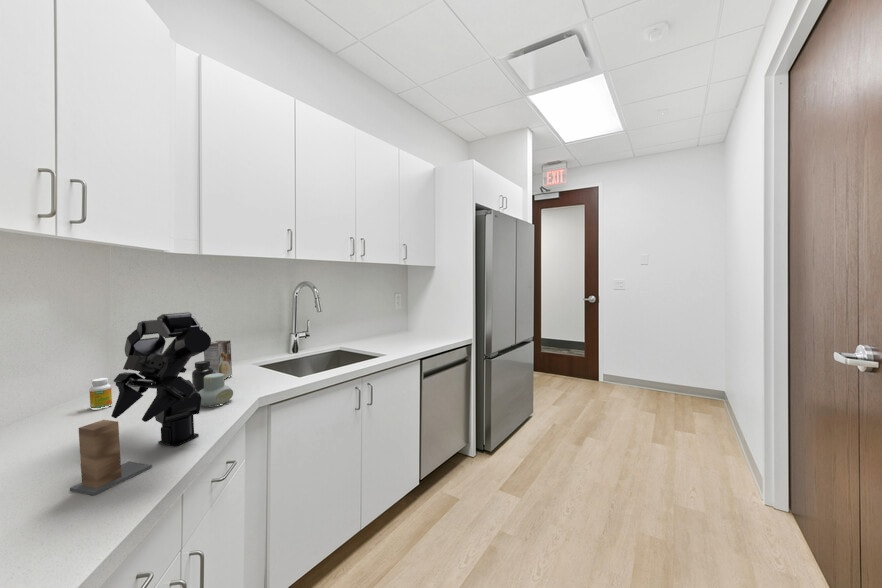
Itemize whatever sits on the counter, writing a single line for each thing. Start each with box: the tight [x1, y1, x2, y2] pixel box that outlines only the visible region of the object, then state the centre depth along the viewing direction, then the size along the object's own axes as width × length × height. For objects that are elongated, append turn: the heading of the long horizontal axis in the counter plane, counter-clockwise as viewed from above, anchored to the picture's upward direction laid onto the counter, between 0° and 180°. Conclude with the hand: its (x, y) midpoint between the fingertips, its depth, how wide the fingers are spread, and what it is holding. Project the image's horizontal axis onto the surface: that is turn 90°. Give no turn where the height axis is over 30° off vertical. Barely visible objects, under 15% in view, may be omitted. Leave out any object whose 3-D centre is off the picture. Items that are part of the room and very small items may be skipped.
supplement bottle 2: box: [191, 360, 214, 392], centre depth 136 cm, size 7×7×12 cm
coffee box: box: [203, 340, 233, 380], centre depth 155 cm, size 9×6×16 cm
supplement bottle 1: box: [89, 377, 113, 409], centre depth 122 cm, size 5×5×10 cm
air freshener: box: [199, 373, 234, 407], centre depth 124 cm, size 11×8×10 cm
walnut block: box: [78, 419, 122, 488], centre depth 76 cm, size 4×4×12 cm
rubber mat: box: [69, 460, 152, 496], centre depth 78 cm, size 11×7×1 cm, turn 165°
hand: (128, 419), depth 81 cm, fingers open, 9 cm apart
